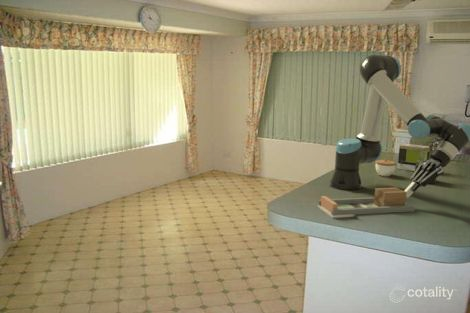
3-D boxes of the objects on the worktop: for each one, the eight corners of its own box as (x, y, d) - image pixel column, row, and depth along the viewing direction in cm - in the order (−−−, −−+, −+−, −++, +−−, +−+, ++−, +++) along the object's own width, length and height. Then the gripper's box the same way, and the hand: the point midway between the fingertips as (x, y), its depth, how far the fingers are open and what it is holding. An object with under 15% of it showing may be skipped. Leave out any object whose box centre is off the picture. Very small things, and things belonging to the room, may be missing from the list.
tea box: (428, 170, 248) (430, 146, 245) (422, 173, 241) (425, 148, 238) (402, 166, 258) (405, 143, 255) (396, 168, 251) (399, 144, 248)
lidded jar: (398, 176, 230) (400, 160, 228) (383, 178, 226) (385, 161, 224) (385, 172, 240) (386, 156, 238) (370, 173, 236) (371, 157, 234)
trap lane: (317, 206, 173) (318, 195, 172) (393, 202, 181) (394, 191, 180) (332, 217, 160) (333, 205, 159) (414, 213, 168) (415, 201, 167)
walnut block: (373, 204, 175) (375, 188, 174) (394, 203, 177) (396, 187, 176) (383, 209, 168) (384, 193, 167) (404, 208, 171) (406, 192, 169)
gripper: (459, 163, 168) (420, 205, 167) (437, 157, 180) (400, 196, 180) (450, 151, 166) (409, 194, 165) (428, 145, 178) (390, 185, 178)
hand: (405, 195), depth 173 cm, fingers closed
